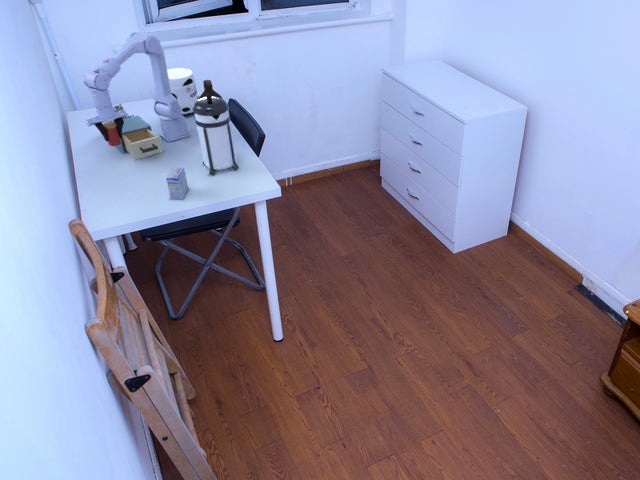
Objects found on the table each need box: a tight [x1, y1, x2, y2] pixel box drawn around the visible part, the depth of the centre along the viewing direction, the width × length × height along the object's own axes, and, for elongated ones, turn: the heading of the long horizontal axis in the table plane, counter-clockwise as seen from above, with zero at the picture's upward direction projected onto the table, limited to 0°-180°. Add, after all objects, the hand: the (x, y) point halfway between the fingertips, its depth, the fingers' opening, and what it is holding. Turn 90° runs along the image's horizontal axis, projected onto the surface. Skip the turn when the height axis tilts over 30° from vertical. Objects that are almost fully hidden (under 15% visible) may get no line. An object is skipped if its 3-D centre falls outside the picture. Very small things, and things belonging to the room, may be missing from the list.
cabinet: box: [113, 115, 153, 154], centre depth 229 cm, size 13×13×8 cm
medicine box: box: [166, 167, 189, 200], centre depth 197 cm, size 8×4×9 cm, turn 5°
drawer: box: [122, 128, 164, 161], centre depth 221 cm, size 16×12×7 cm
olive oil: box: [198, 79, 224, 100], centre depth 231 cm, size 11×11×25 cm
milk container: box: [167, 67, 200, 116], centre depth 255 cm, size 17×17×18 cm
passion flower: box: [110, 103, 135, 122], centre depth 242 cm, size 11×11×12 cm
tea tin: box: [102, 122, 121, 147], centre depth 209 cm, size 5×5×8 cm
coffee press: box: [193, 93, 240, 176], centre depth 209 cm, size 17×16×30 cm
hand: (113, 138), depth 211 cm, fingers closed on tea tin, 4 cm apart
